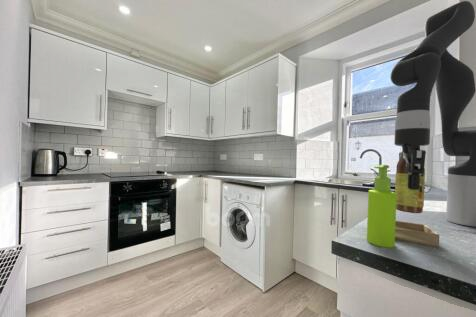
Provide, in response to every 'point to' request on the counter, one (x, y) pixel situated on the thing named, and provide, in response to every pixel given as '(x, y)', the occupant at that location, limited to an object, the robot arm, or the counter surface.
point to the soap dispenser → (381, 211)
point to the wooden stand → (416, 233)
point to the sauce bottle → (405, 196)
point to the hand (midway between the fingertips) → (409, 187)
